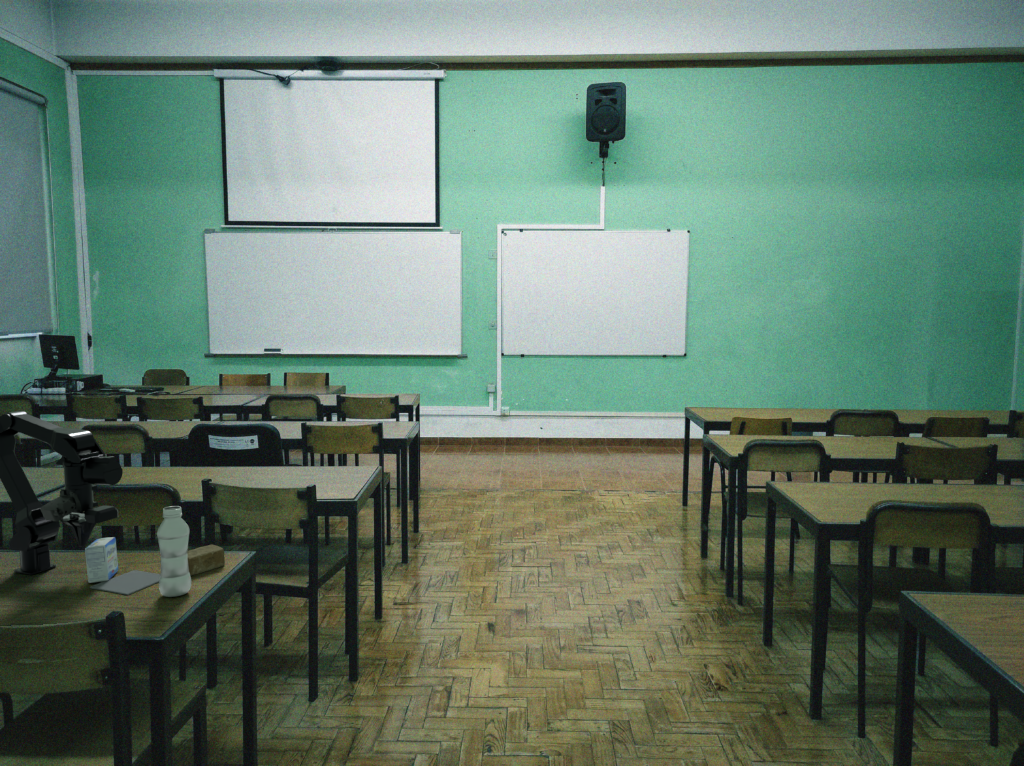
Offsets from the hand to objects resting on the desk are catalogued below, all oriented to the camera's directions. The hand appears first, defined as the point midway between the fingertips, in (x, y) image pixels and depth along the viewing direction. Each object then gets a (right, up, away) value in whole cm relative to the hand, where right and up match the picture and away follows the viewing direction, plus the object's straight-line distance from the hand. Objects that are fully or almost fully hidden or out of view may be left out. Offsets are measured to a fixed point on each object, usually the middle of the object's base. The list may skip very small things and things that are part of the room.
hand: (82, 546), depth 171 cm
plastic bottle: (+29, -8, -13) cm, 33 cm away
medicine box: (+6, -7, -2) cm, 10 cm away
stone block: (+27, -7, +4) cm, 28 cm away
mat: (+15, -8, -5) cm, 17 cm away
